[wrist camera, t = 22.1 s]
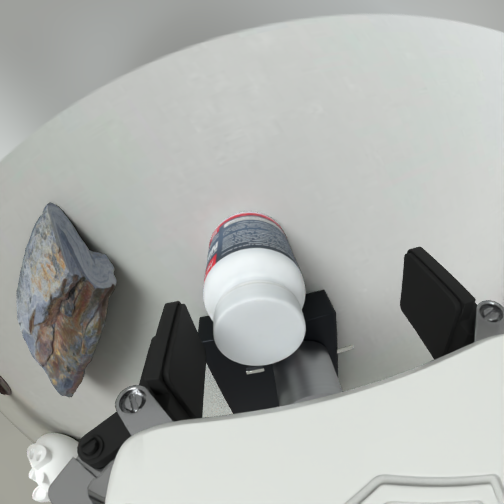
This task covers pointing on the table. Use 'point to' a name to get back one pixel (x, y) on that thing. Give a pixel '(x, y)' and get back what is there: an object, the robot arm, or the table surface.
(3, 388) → the figurine
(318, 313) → the hob panel
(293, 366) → the knob
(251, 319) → the pill bottle
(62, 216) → the stone
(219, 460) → the robot arm
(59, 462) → the piggy bank
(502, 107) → the table surface
